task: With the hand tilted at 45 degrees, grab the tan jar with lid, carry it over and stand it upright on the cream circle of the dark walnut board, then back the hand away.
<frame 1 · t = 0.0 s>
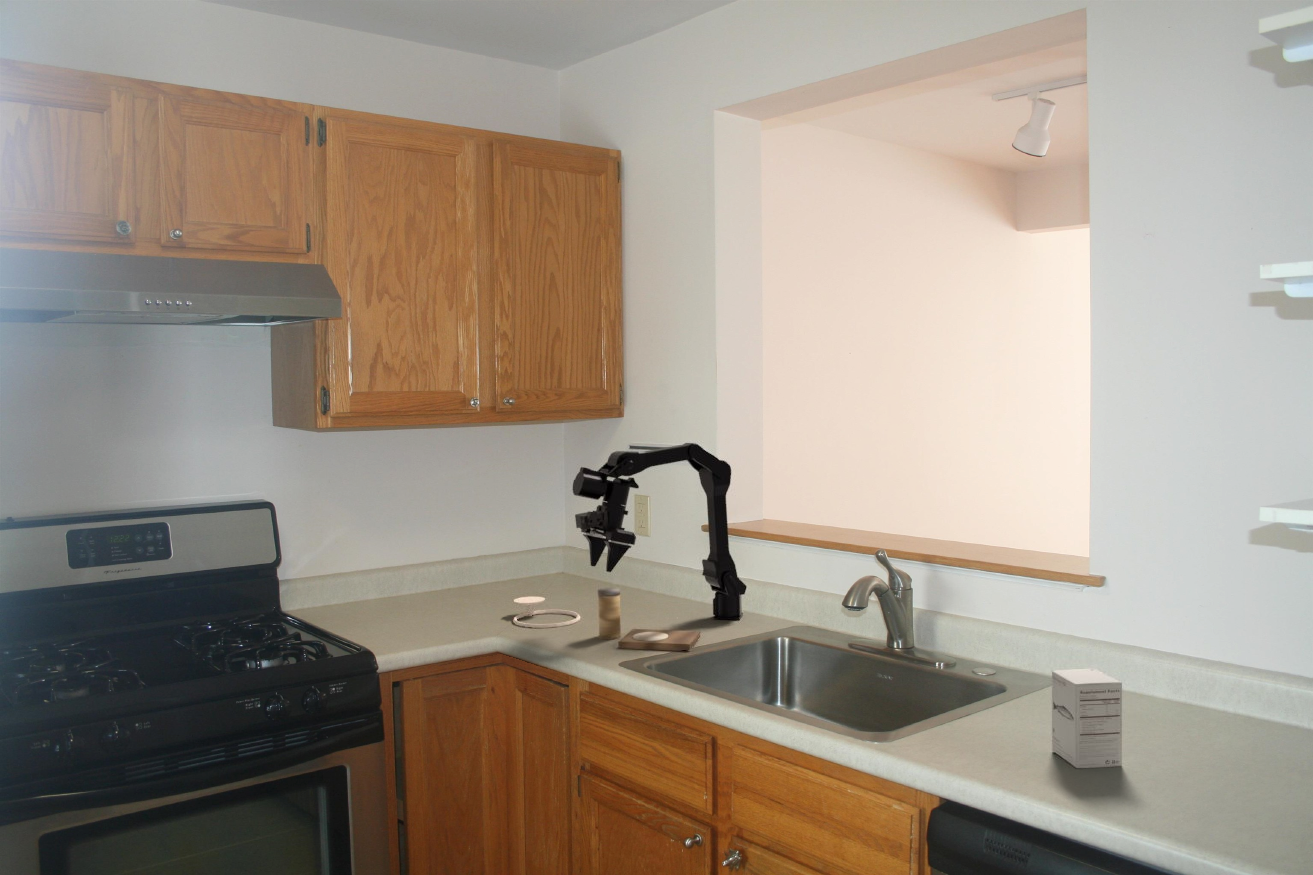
hand: (600, 568, 229), 15 cm above the worktop, tool pointing down, fingers open, 9 cm apart
hand towel holder: (542, 621, 247), on the worktop
supplement box: (1086, 760, 146), on the worktop
walnut board: (660, 642, 221), on the worktop
tan jar with lid: (609, 636, 228), on the worktop
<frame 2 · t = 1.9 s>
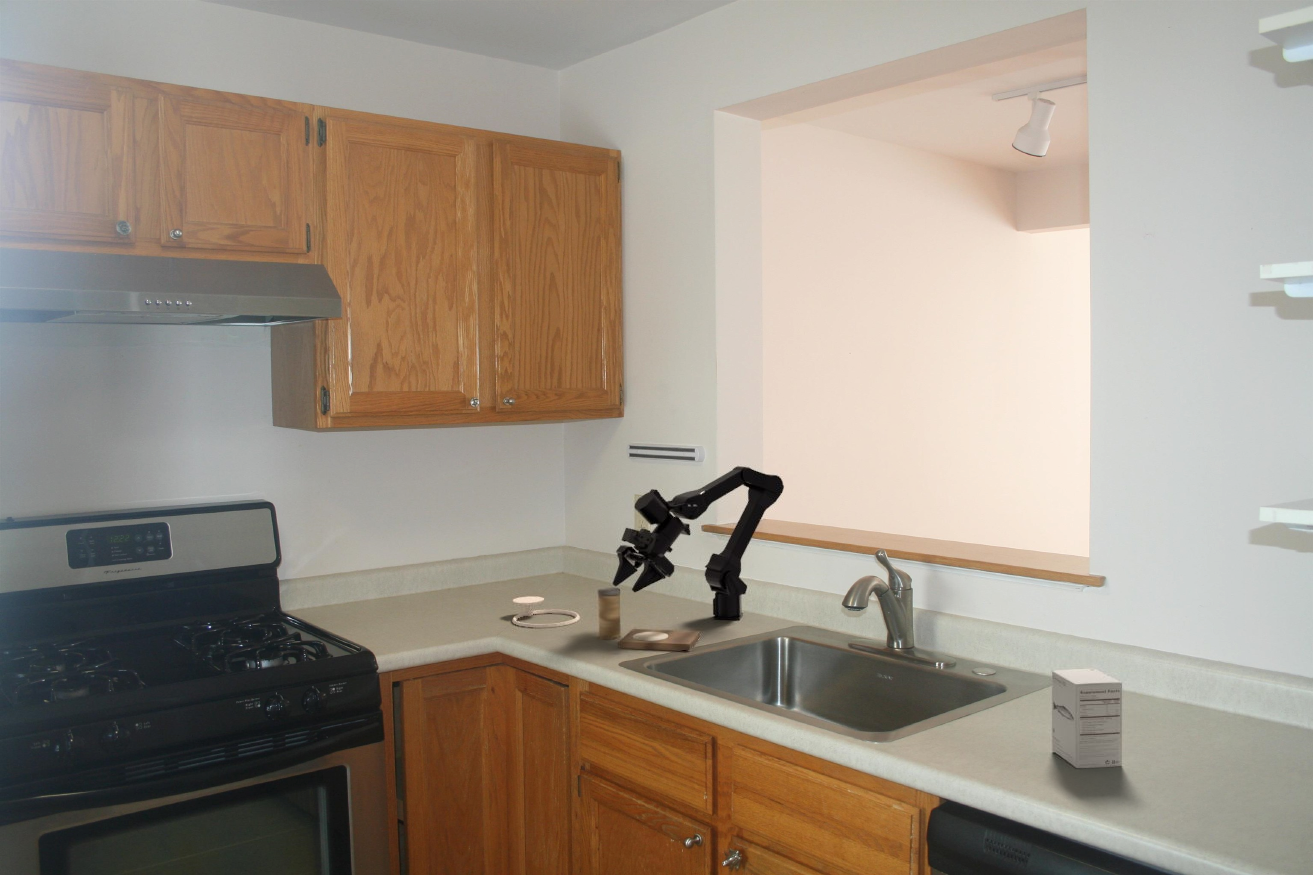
hand: (623, 588, 229), 11 cm above the worktop, tool tilted 45°, fingers open, 9 cm apart
nothing on the worktop moved.
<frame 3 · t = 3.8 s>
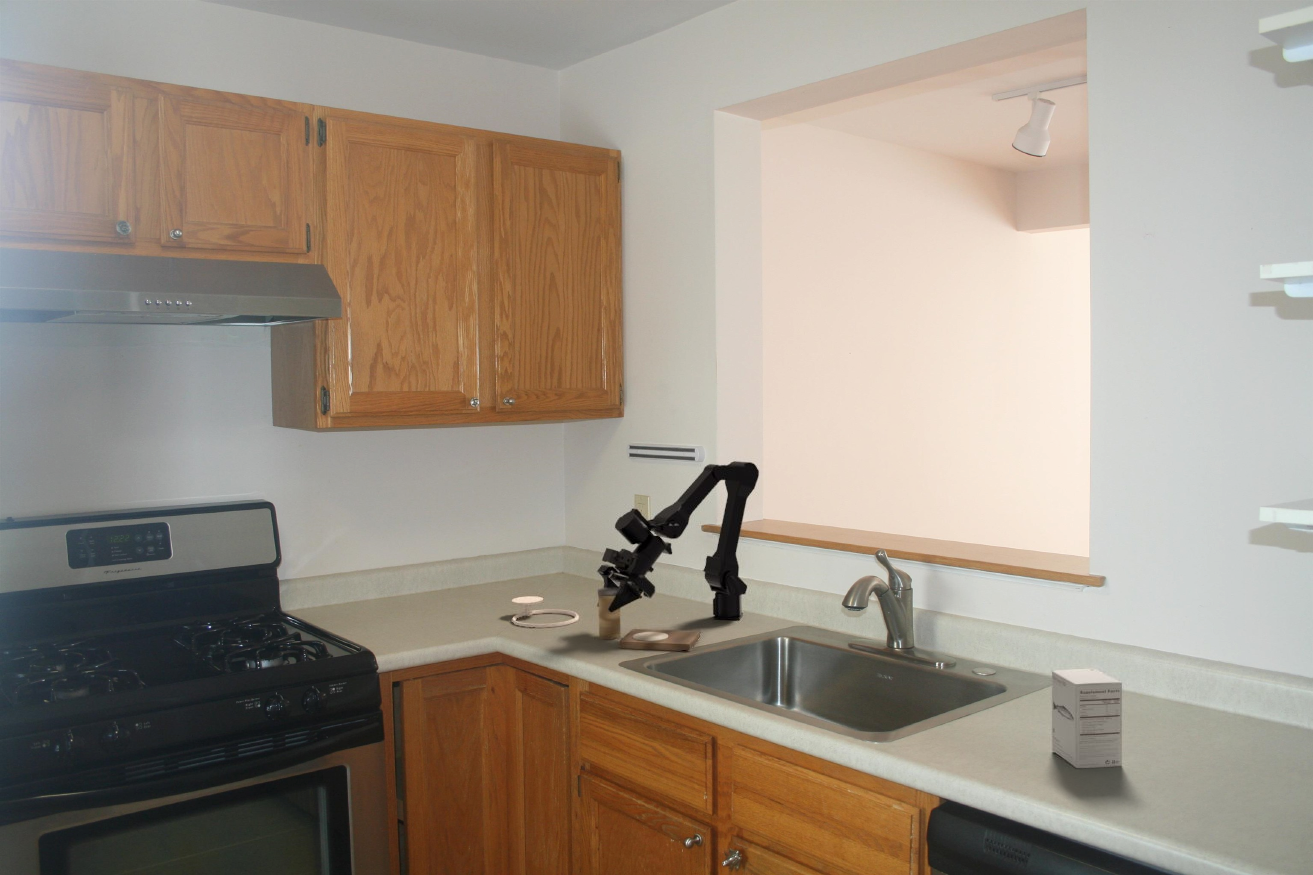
hand: (604, 609, 227), 7 cm above the worktop, tool tilted 45°, fingers closed on tan jar with lid, 5 cm apart
tan jar with lid: (609, 636, 228), on the worktop, touching gripper
everything else where it was.
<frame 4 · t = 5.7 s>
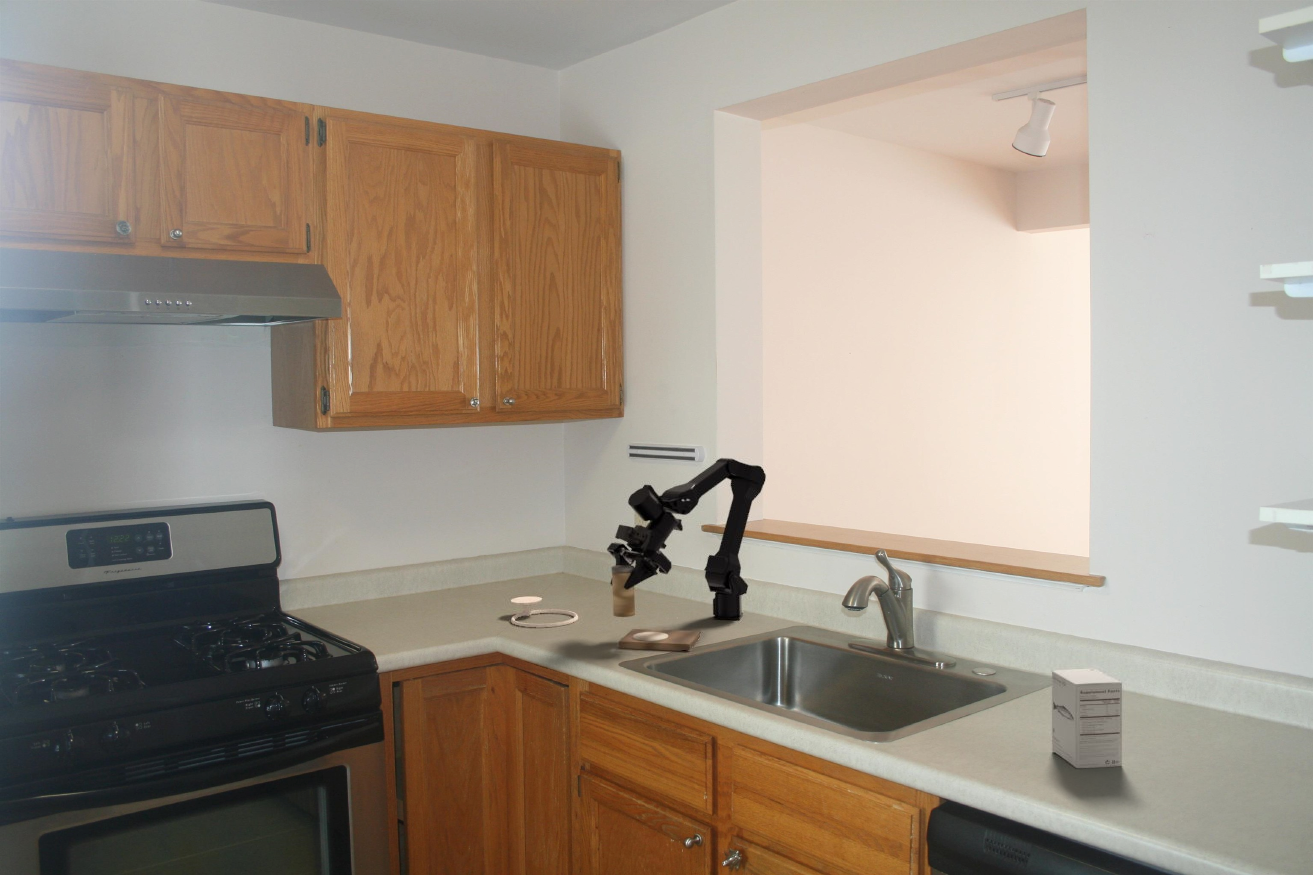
hand: (618, 586, 223), 12 cm above the worktop, tool tilted 45°, fingers closed on tan jar with lid, 5 cm apart
tan jar with lid: (624, 614, 224), point 6 cm above the worktop, touching gripper
everything else where it was.
when the fingers open (9 cm above the worktop, at t = 7.5 s): tan jar with lid stays where it is, resting on walnut board.
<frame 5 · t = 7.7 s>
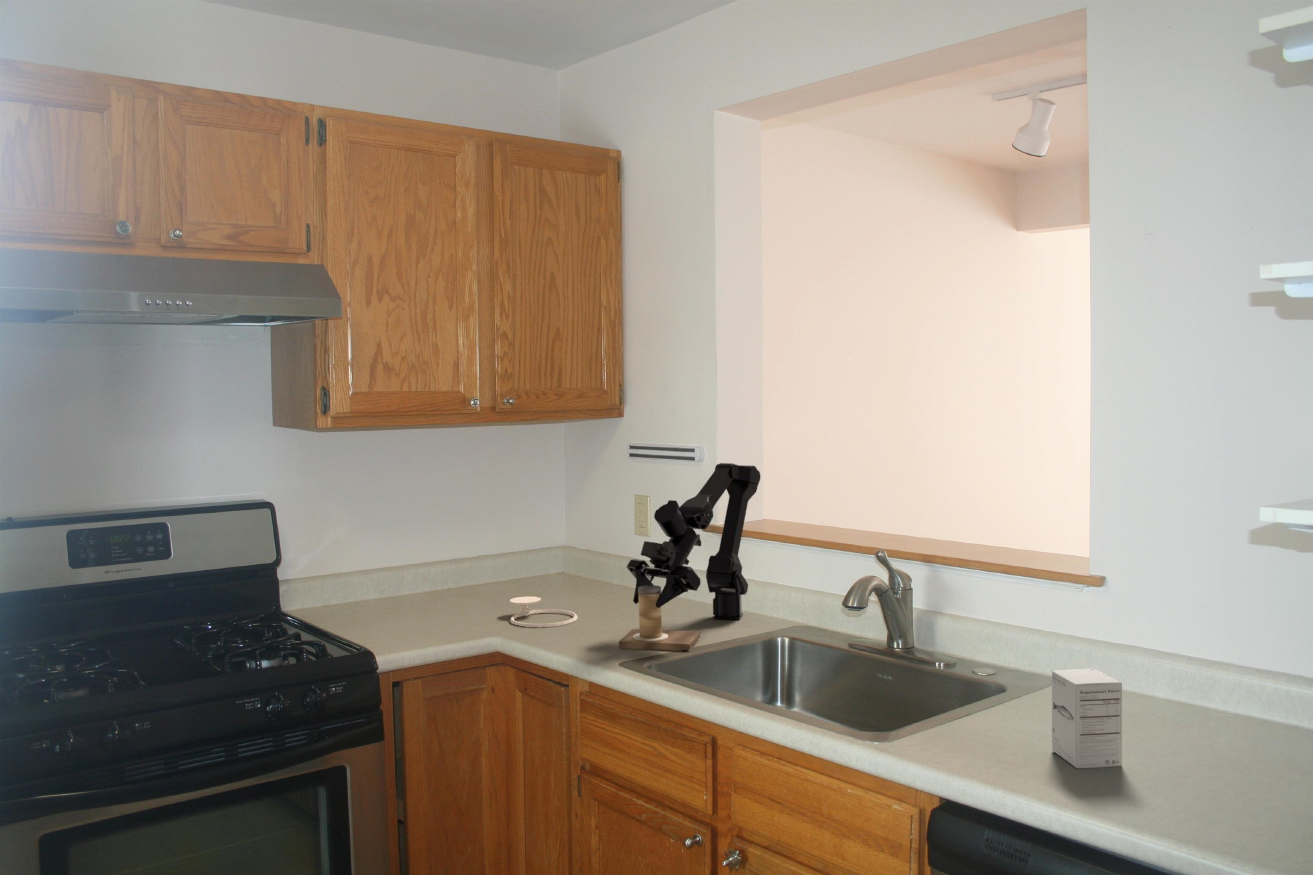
hand: (645, 604, 219), 9 cm above the worktop, tool tilted 45°, fingers open, 7 cm apart
tan jar with lid: (650, 635, 220), point 2 cm above the worktop, touching walnut board
everything else where it was.
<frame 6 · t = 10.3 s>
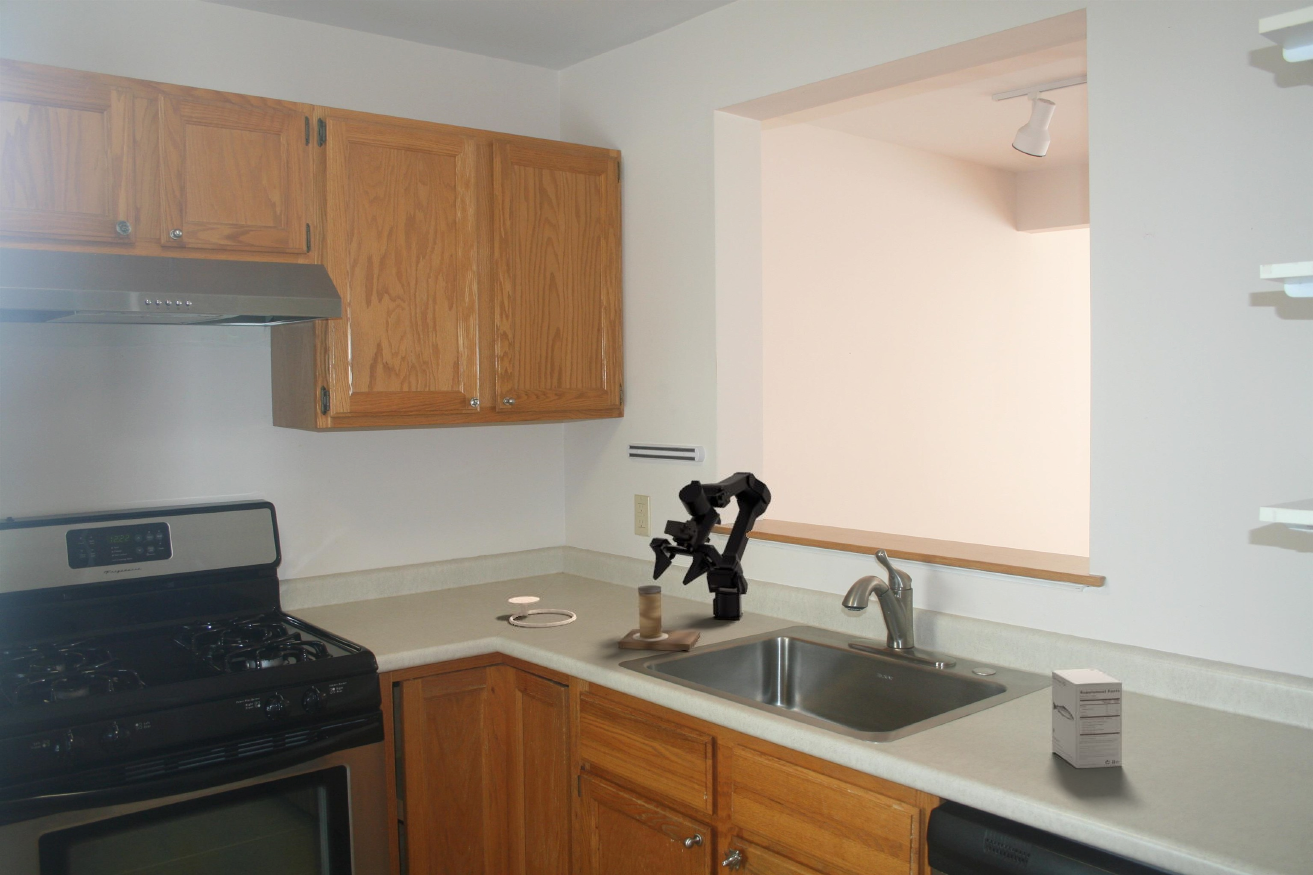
hand: (668, 581, 225), 13 cm above the worktop, tool tilted 45°, fingers open, 9 cm apart
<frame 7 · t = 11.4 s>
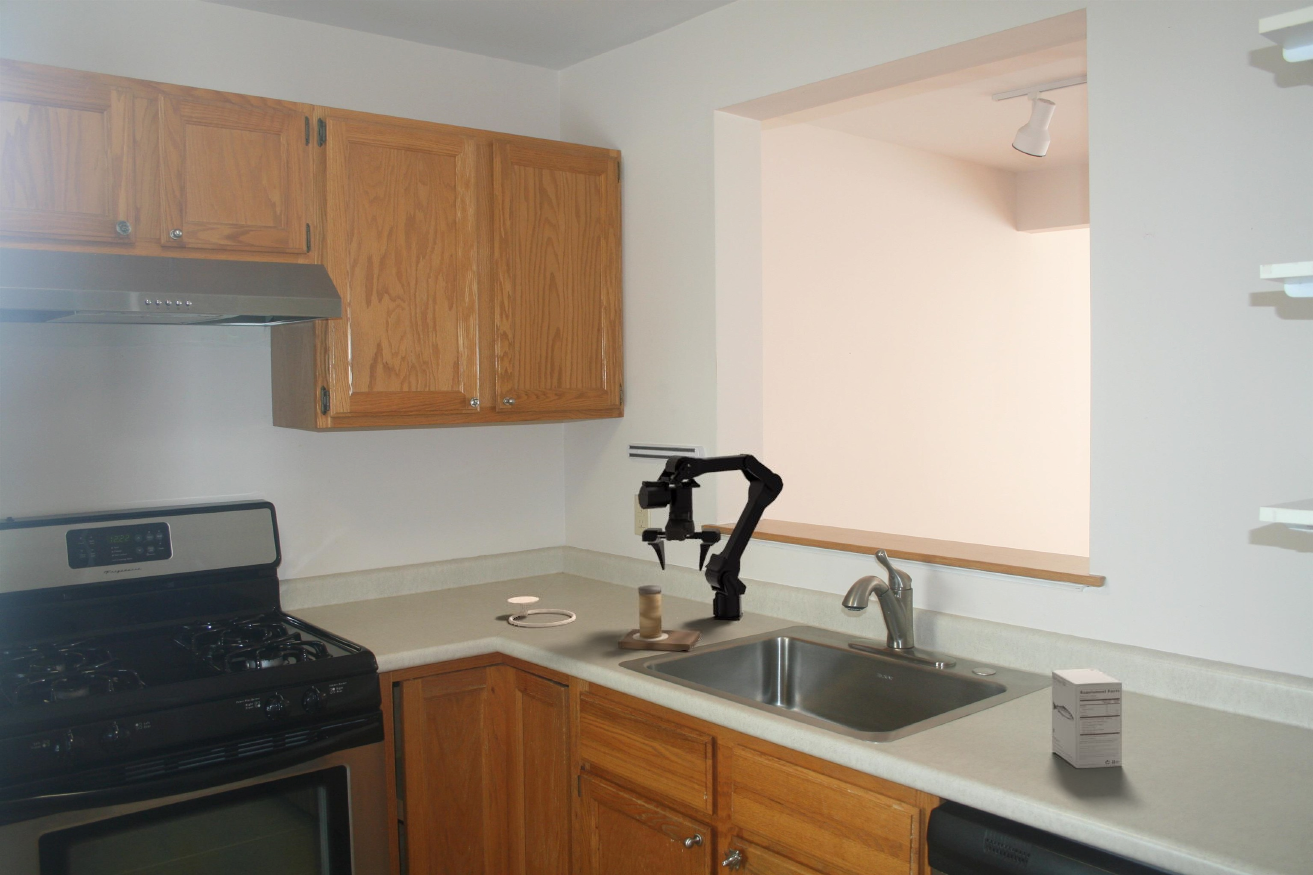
hand: (682, 570, 239), 13 cm above the worktop, tool pointing down, fingers open, 9 cm apart
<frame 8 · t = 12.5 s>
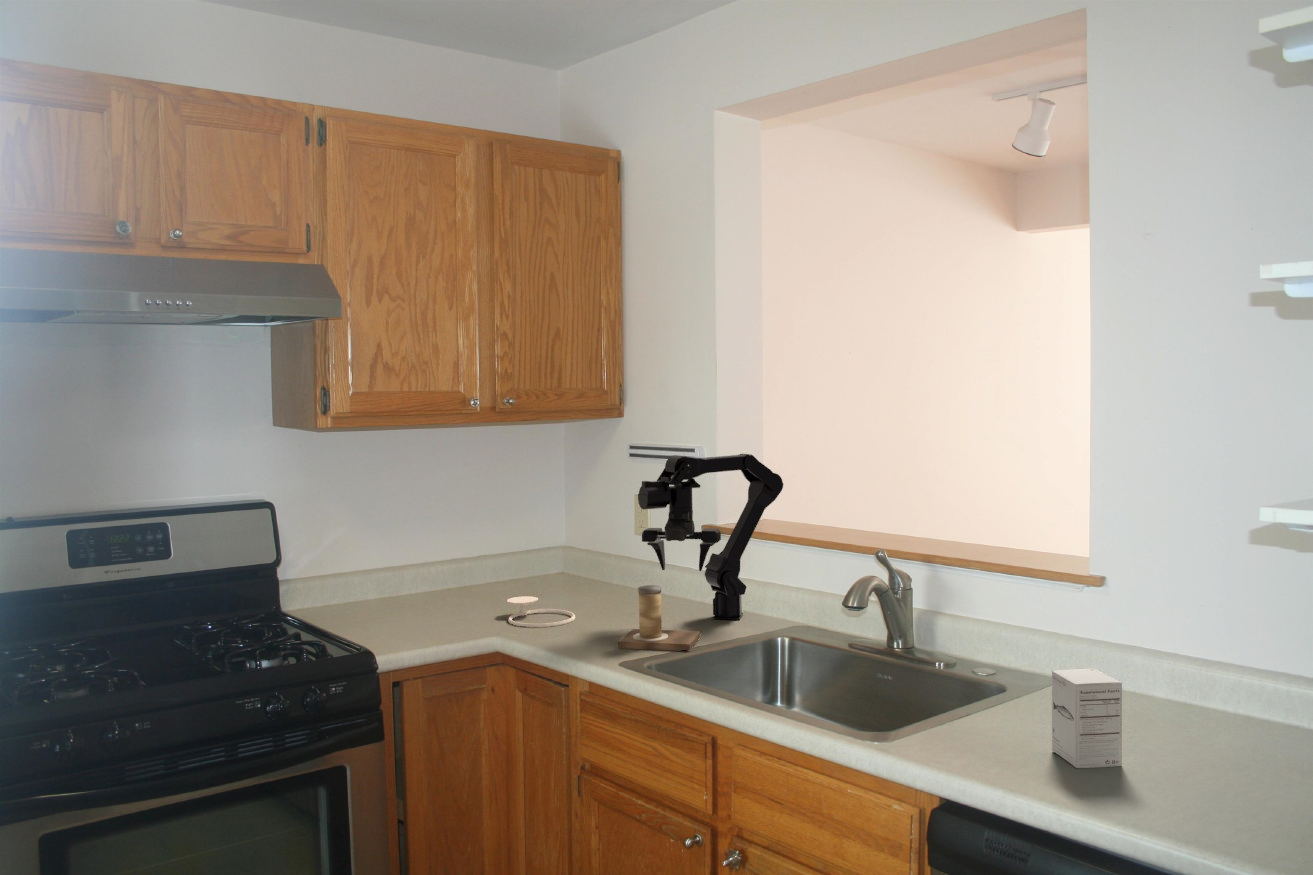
hand: (681, 570, 239), 13 cm above the worktop, tool pointing down, fingers open, 9 cm apart
at the end: tan jar with lid 0.0 cm from the target spot on the walnut board, point 1.7 cm above the walnut board's base; tan jar with lid tilted 0°; the gripper is holding nothing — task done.
